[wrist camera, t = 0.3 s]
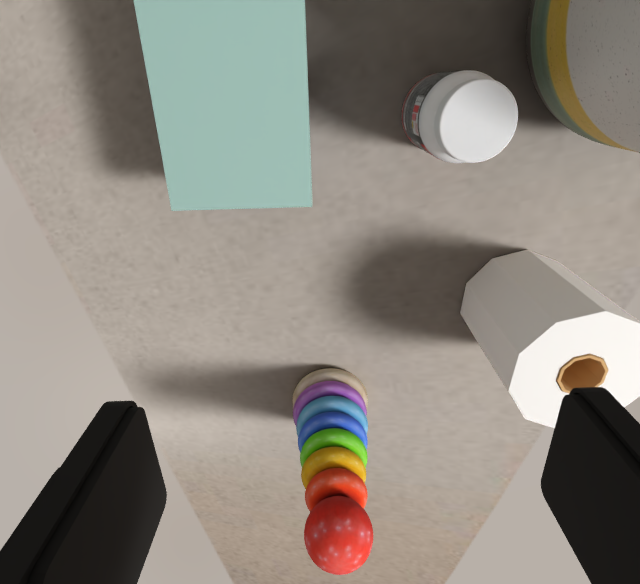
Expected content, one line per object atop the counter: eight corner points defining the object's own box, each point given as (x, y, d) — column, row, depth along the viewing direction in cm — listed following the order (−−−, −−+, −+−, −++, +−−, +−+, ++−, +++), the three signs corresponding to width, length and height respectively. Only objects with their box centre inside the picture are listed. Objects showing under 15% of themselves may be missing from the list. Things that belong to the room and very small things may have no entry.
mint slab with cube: (114, -141, 23) (76, -183, 20) (299, -148, 23) (296, -191, 19) (175, 207, 31) (157, 222, 28) (312, 203, 31) (311, 218, 28)
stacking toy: (361, 425, 48) (384, 607, 31) (290, 420, 48) (275, 602, 31) (371, 367, 45) (402, 537, 28) (295, 362, 45) (280, 530, 28)
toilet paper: (448, 339, 43) (491, 424, 33) (478, 242, 39) (540, 303, 28) (544, 350, 44) (618, 437, 33) (584, 256, 40) (685, 321, 29)
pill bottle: (398, 151, 35) (425, 173, 27) (401, 74, 33) (431, 70, 24) (468, 148, 35) (519, 169, 26) (476, 70, 33) (534, 65, 24)
